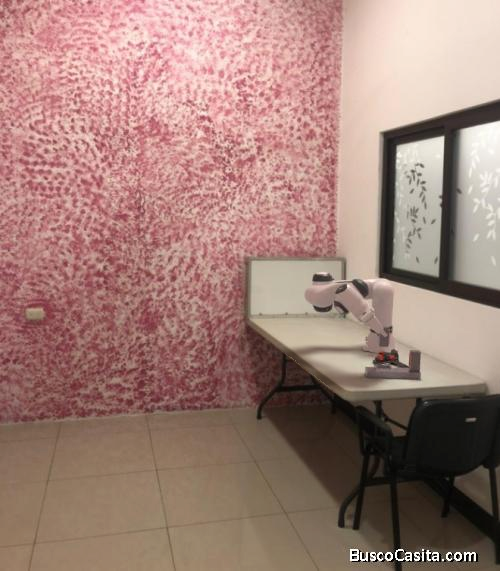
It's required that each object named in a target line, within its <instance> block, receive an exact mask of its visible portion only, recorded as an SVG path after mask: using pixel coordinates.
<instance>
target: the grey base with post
mask: <svg viewBox="0 0 500 571" xmlns="http://www.w3.org/2000/svg"><path fill="white" fill-rule="evenodd" d="M421 355H422V352H421V351H420V350H416V349H410V350H409V354H408V366H409V368H402V367H393V365H392V364H383V365H377V364H373V366H365V367H364V374H365V376H366V378H367V379H368V378H370V379H398V380H401V379H402V380H421V377H422V374H421V357H422V356H421Z"/></svg>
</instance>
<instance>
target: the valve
mask: <svg viewBox="0 0 500 571" xmlns="http://www.w3.org/2000/svg"><path fill="white" fill-rule="evenodd" d="M399 357H400V356H399V351H396V350H395V349H392V350H391V353H389V352H384V351H380V352H379V353H377V355H376V356H375V357H374V359H373V360H372V364H373V365H388V364H391V365H397V366H398V367H399V368H409V365H407V364H405V363H403V362H402V361H400V360H399V359H400V358H399Z"/></svg>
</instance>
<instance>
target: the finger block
mask: <svg viewBox="0 0 500 571" xmlns="http://www.w3.org/2000/svg"><path fill="white" fill-rule="evenodd" d="M383 328H384V329H383V330H384V331H385V332H386V333H387V336H386V337H384V336H383V335H382V334H381V333H379V341H378V345H379V347H388V345H389V339H390V329H389V327H388V326H383Z"/></svg>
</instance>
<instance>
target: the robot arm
mask: <svg viewBox="0 0 500 571" xmlns="http://www.w3.org/2000/svg"><path fill="white" fill-rule="evenodd" d="M311 281H312V284H311V285H310V286H308V287H306V289H305V291H304V299H305V300H306V302H308V303H309V304H310V305H311V306H312V307H313V310H314V311H315V312H317V313H321V314H327V313H329V312H331V311H332V310H333V307H334V308H335V310H336V311H337V312H339V313H340V314H341V315H348V314H350V313H351V314H352V315H353V317H354V318H355V319H356V320H357V321H358V322H359V323H363V324H365V325H366V326H368V327H369V333H368V335H367V336H365V337H364V338H365V340H364V341H365V343H364V345H363V348H362V350H363V351H366V352H370V353H374V354H378V353H379V352H380V351H384V352H389V353H391V350H392V349H395V350H396V351H397V352H399V349H398V348H397V347H396V336H395V335H394V334H393V331H394V326H393V309H394V295H395V294H394V293H395V289H394V287H393V284H392V282H391V281H390V280H389V279H387V278H370V279H369V278H368V279H360V278H354V279H342V280H335V278H333V275H331V274H330V272H329V273H328V272H326V271H318V272H316V273H314V274H313V275H312V279H311ZM367 300H371V304H370V303H369V302H368V301H367ZM383 326H388V327H389V329H390V339H389V345H388V347H379V345H378V341H379V333H381V334H382V335H383V336H384V337H386V336H387V333H386V332H385V331H384V330H383V329H384V328H383Z"/></svg>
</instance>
